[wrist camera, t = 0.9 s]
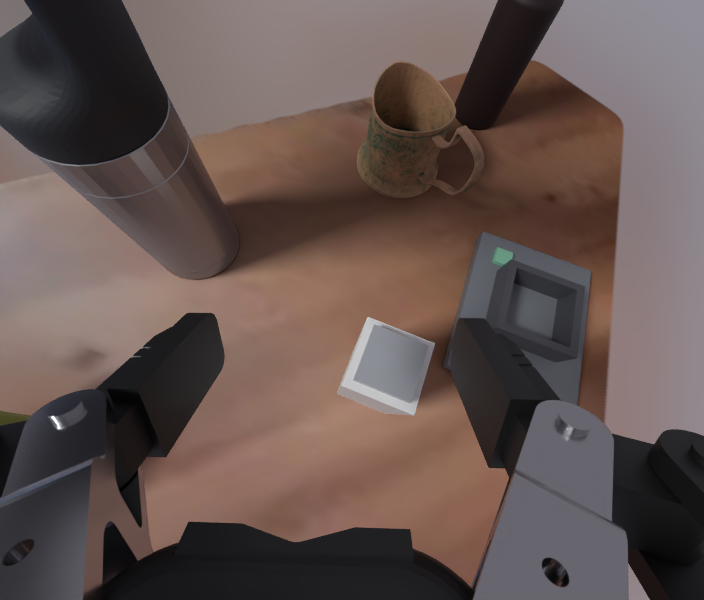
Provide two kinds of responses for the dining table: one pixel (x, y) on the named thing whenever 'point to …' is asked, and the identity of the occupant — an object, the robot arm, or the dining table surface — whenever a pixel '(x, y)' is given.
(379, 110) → the mug
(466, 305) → the dock
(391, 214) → the dining table surface
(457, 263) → the dining table surface
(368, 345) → the grey tall block
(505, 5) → the bottle
